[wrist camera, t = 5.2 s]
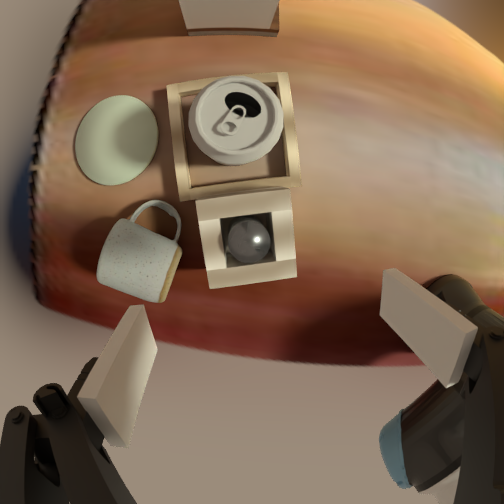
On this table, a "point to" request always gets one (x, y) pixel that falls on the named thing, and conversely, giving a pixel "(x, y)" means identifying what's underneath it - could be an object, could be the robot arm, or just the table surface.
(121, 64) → the table surface
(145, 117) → the pad
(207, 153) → the can
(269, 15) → the tall seamed white tower
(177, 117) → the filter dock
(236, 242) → the glossy grey oval piece
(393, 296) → the robot arm
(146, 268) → the ceramic mug
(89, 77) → the table surface
